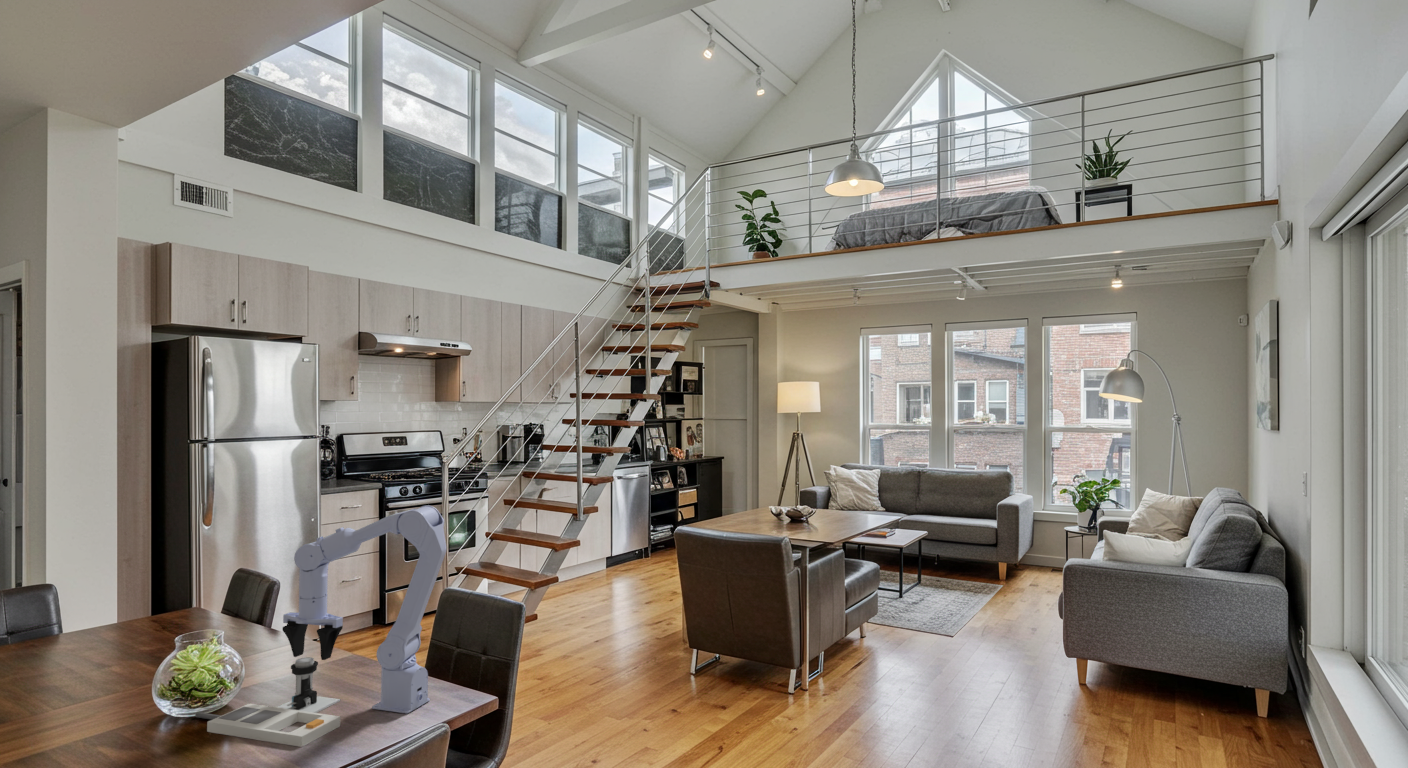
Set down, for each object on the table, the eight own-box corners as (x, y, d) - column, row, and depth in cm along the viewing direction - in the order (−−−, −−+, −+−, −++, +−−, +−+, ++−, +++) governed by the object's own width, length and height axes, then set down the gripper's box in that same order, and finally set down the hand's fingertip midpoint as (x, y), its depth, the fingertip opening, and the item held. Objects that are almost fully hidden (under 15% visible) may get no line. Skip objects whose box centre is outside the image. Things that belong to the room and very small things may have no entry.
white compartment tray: (340, 726, 156) (340, 713, 156) (301, 746, 146) (302, 733, 146) (217, 707, 165) (217, 696, 165) (173, 726, 155) (174, 713, 155)
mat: (340, 701, 169) (340, 699, 169) (305, 718, 159) (305, 716, 159) (304, 696, 172) (304, 694, 172) (267, 713, 162) (267, 711, 162)
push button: (296, 714, 161) (297, 667, 161) (278, 710, 163) (279, 664, 163) (322, 703, 167) (323, 657, 167) (305, 699, 169) (306, 654, 169)
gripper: (272, 598, 166) (271, 659, 166) (326, 602, 162) (325, 665, 162) (297, 590, 173) (296, 650, 173) (350, 594, 169) (349, 655, 169)
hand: (312, 657), depth 168 cm, fingers open, 7 cm apart
